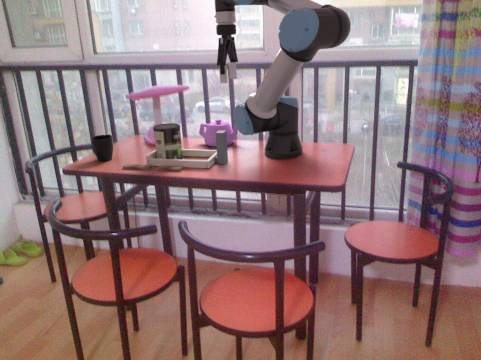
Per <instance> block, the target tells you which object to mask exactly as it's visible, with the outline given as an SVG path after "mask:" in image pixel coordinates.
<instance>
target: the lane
mask: <svg viewBox="0 0 481 360" xmlns="http://www.w3.org/2000/svg"><path fill="white" fill-rule="evenodd" d="M182 156H183V157H198V158H199V157H200V158H201V157H203V158H207V159H206V160H205V159H203V160H202V159H183V160H181V159H157V154H156V149H154V150H152V151H151V152H149V153H147V154H146V155H145V159H146V160H145V162H146V165H153V167H160V166H161V165H163V166H183V167H184V168H193V169H195V168H196V169H197V168H198V169H210V168H211V167H213V165H214V164H217V165H226V164H227V163H228V161H229V155H228V146H227V133H226V131H224V130H219V131H217V132H216V149H195V148H194V149H193V148H191V149H190V148H182Z"/></svg>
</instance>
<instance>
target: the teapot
mask: <svg viewBox="0 0 481 360" xmlns="http://www.w3.org/2000/svg"><path fill="white" fill-rule="evenodd" d="M205 128H206V129H205ZM219 130H224V131H226V133H227V147H228V146H230V145H231V144H233V143H234V141H235V138H236V137H237V136H238V132H239V131H238V129H237V127H236V125H235V124H234V125H233V127H232V126H231V124H230V122H228V121H224V120H223V121H222V119H221V118H217V119H215V120H214V121H211V122H210V123H205V122H201V123H200V126H199V131H198V132H199V133H198V134H199V136H201V137H203V139H204V144H206V146H208V147H213V148H214V147H216V132H217V131H219Z"/></svg>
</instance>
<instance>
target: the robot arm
mask: <svg viewBox="0 0 481 360" xmlns="http://www.w3.org/2000/svg"><path fill="white" fill-rule="evenodd" d="M237 6H238V7H239V6H266V7H269V8H270V9H273V10H274V11H277V12H279V13H280V14H283V15H284V16H283V17H282V19H281V21H280V23H279V27H278V30H279V32H278V40H279V47H280V49H279V51H278V53H277V54H276V56H275V58H274V60H273V61H272V63H271V65H270V67H269V68H268V70H267V72H266V74H265V75H264V76H263V77H264V78H262V81H261V82H260V84H259V85H258V88H257V89H256V91H255V92H252V93H251V94H250V95H248V97H247V98H246V100H245V102H244V103H239V104H236V106H235V107H234V109H233V119H234V125H236V127H237V129H238V132H239V133H240V134H241V135H243V136H254V135H257V134H261V133H262V134H263V133H267V132H268V136H267V140H266V142H265V146H264V155H265V156H266V157H269V158H273V159H278V160H279V159H280V160H281V159H283V160H284V159H294V158H297V157H300V156H302V155H303V145H302V143H301V140H300V135H299V110H300V109H299V108H300V107H299V100H298V98H296V97H295V96H291V95H290V96H289V95H285V93H286V91H287V89H289V87H290V85H291V84H292V82H293V81H294V79H295V77H296V76H297V75H298V73H299V71H300V70H301V68H302V67H303V65H304V64H306V63H310V62H311V61H312V60H313V59H314V57H315V56H316V55H317V53H318V52H319V50H325V49H327V50H328V49H333V48H337V47H339V46H341V45H342V44H343V43H344V42H345V41H346V40H347V39H348V37H349V35H350V33H351V28H352V27H351V19H350V17H349V15H348V14H347V12H346V11H345V10H343V9H342V8H340V7H337V6H334V5H333V4H326V3H325V4H320V3H319V2H315V1H313V0H214V10H215V15H214V18H215V23H216V24H217V25H216V26H215V28H216V36H221V37H218V45H217V46H218V48H217V60H216V66H218V67H219V83H220V84H228V66H229V80H237V79H238V78H237V77H238V76H237V75H238V74H237V63H239V59H238V54H237V48H236V44H235V43H236V41H235V36H232V35H236V34H237V25H236V22H237V18H236V7H237ZM227 57H228V58H227ZM227 59H229V63H228V66H227V65H226V64H227Z"/></svg>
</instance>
